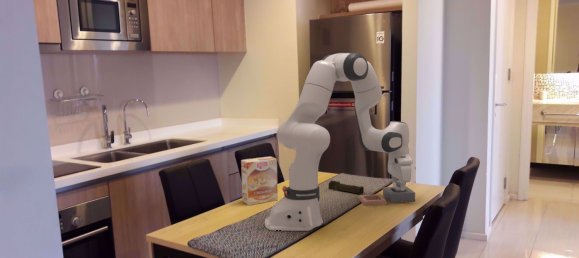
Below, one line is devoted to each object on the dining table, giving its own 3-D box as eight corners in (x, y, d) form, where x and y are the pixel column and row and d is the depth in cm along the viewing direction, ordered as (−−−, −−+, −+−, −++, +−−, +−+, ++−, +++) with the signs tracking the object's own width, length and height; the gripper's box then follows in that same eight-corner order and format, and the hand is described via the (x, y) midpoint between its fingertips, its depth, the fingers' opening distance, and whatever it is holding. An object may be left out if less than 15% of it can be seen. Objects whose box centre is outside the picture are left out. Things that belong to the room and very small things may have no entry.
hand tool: (364, 194, 207) (364, 184, 207) (360, 195, 204) (360, 186, 204) (331, 188, 220) (331, 179, 219) (327, 189, 217) (327, 180, 216)
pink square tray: (364, 205, 188) (364, 201, 188) (359, 199, 198) (359, 195, 197) (386, 204, 189) (386, 200, 189) (379, 198, 198) (379, 194, 198)
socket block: (390, 202, 192) (390, 193, 191) (382, 195, 202) (382, 187, 202) (415, 201, 193) (415, 192, 192) (406, 194, 203) (406, 186, 203)
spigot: (395, 200, 195) (395, 182, 194) (392, 197, 199) (392, 180, 198) (404, 199, 196) (404, 182, 195) (401, 197, 200) (401, 180, 199)
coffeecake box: (248, 205, 193) (246, 162, 191) (242, 201, 199) (240, 159, 197) (278, 200, 200) (277, 158, 198) (271, 196, 206) (270, 155, 204)
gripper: (384, 153, 205) (384, 182, 207) (399, 161, 185) (399, 193, 187) (397, 152, 206) (397, 181, 207) (414, 161, 185) (413, 193, 187)
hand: (398, 187), depth 197 cm, fingers open, 8 cm apart
